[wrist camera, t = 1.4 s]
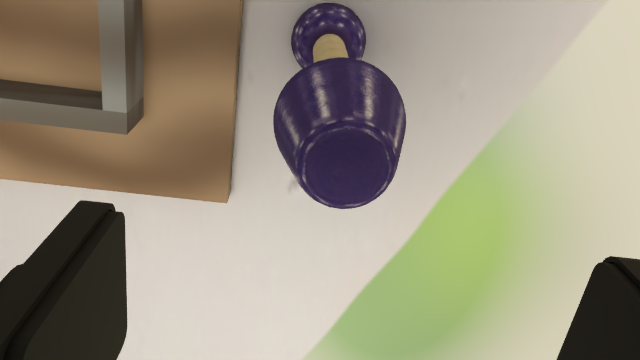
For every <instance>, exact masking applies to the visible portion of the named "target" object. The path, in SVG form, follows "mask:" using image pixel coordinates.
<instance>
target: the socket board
mask: <svg viewBox="0 0 640 360" xmlns="http://www.w3.org/2000/svg"><path fill="white" fill-rule="evenodd" d="M242 7H243V0H0V179H7V180H16V181H25V182H34V183H44V184H53V185H62V186H72V187H81V188H90V189H99V190H109V191H118V192H127V193H136V194H146V195H155V196H164V197H173V198H183V199H192V200H201V201H211V202H220V203H227V201H228V198H229V195H230V189H231V174H232V158H233V143H234V128H235V113H236V98H237V83H238V68H239V52H240V37H241V22H242Z"/></svg>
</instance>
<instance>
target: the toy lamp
mask: <svg viewBox="0 0 640 360" xmlns="http://www.w3.org/2000/svg"><path fill="white" fill-rule="evenodd" d="M291 45H292V50H293V54H294V56H295V58H296V60H297V62H298V63H299V65H300V66H301V67H302V68H303V69H302V70H300V71H299V72H298V73H296V74H295V75H294V76H293V77H292V78H291V79H290V80H289V81H288V82H287V84H286V85H285V87H284V88H283V90H282V91H281V93H280V95H279V98H278V100H277V103H276V106H275V110H274V133H275V138H276V141H277V144H278V147H279V149H280V152H281V154H282V155H283V157H284V159H285V161H286V163H287V165H288V166H289V168H290V170H291V171H292V173H293V175H294V176H295V178H296V180H297V181H298V183H299V184H300V186H301V187H302V188H303V189H304V191H305V192H306V193H307V194H308V195H309V196H310V197H312V198H313V199H314V200H315V201H317V202H319V203H321V204H324V205H326V206H328V207H333V208H339V209H349V208H356V207H360V206H363V205H366V204H368V203H370V202H371V201H373V200H375V199H376V198H377V197H379V196H380V195H381V194H382V193H383V192H384V191H385V190H386V189H387V187H388V185H389V184H390V183H391V181H392V179H393V177H394V175H395V172H396V169H397V165H398V161H399V157H400V153H401V148H402V144H403V139H404V134H405V128H406V114H405V109H404V104H403V101H402V98H401V96H400V93H399V91H398V89H397V88H396V86H395V85H394V83H393V82H392V81H391V79H390V78H389V77H388V76H387V75H386V74H384V73H383V72H382V71H381V70H379V69H378V68H376V67H375V66H373V65H371V64H369V63H366V62H364V61H361V58H362V56H363V53H364V50H365V45H366V37H365V31H364V27H363V25H362V23H361V21H360V19H359V18H358V16H357V15H356V14H355V13H354V12H353V11H352V10H351V9H349V8H347V7H345V6H343V5H339V4H335V3H323V4H318V5H315V6H313V7H311V8H309V9H308V10H307V11H306V12H304V13H303V14H302V15H301V17H300V18H299V20H298V21H297V22H296V24H295V26H294V29H293V33H292V38H291Z"/></svg>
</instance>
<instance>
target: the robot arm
mask: <svg viewBox="0 0 640 360" xmlns="http://www.w3.org/2000/svg"><path fill="white" fill-rule="evenodd" d="M126 332H127V294H126V250H125V217H124V214H123V212H115V207H114V205H113V204H111V203H102V202H92V201H79V202H78V203H77V204H76V205H75V207H74V208H73V209H72V210H71V211H70V212H69V213H68V214H67V215H66V217H65V218H64V219H63V220H62V221H61V222H60V223H59V224H58V226H57V227H56V228H55V229H54V230H53V231H52V232H51V233H50V235H49V236H48V237H47V238H46V239H45V240H44V241H43V242H42V244H41V245H40V246H39V247H38V248H37V249H36V250H35V251H34V253H33V254H32V255H31V256H30V257H29V258H28V259H27V260H26V262H25V263H24V264H21V265H17V266H16V267H15V268H13V269H12V270H11V271H10V272H9V273H8V274H7V275H6V276H5V277H4V279H3V280H2V281H1V282H0V360H116V359H117V357H118V355H119V353H120V351H121V349H122V346H123V344H124V341H125V337H126ZM557 360H640V260H639V259H631V258H621V257H612V256H610V257H608V258H606V259H605V260H604V261H603V262H602V263H598V264H597V265H596V266H595V268H594V269H593V272H592V274H591V277H590V279H589V282H588V284H587V286H586V289H585V291H584V294H583V296H582V299H581V301H580V304H579V307H578V309H577V311H576V313H575V316H574V318H573V321H572V323H571V326H570V328H569V331H568V333H567V336H566V338H565V341H564V343H563V346H562V348H561V350H560V353H559V355H558V358H557Z"/></svg>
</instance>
